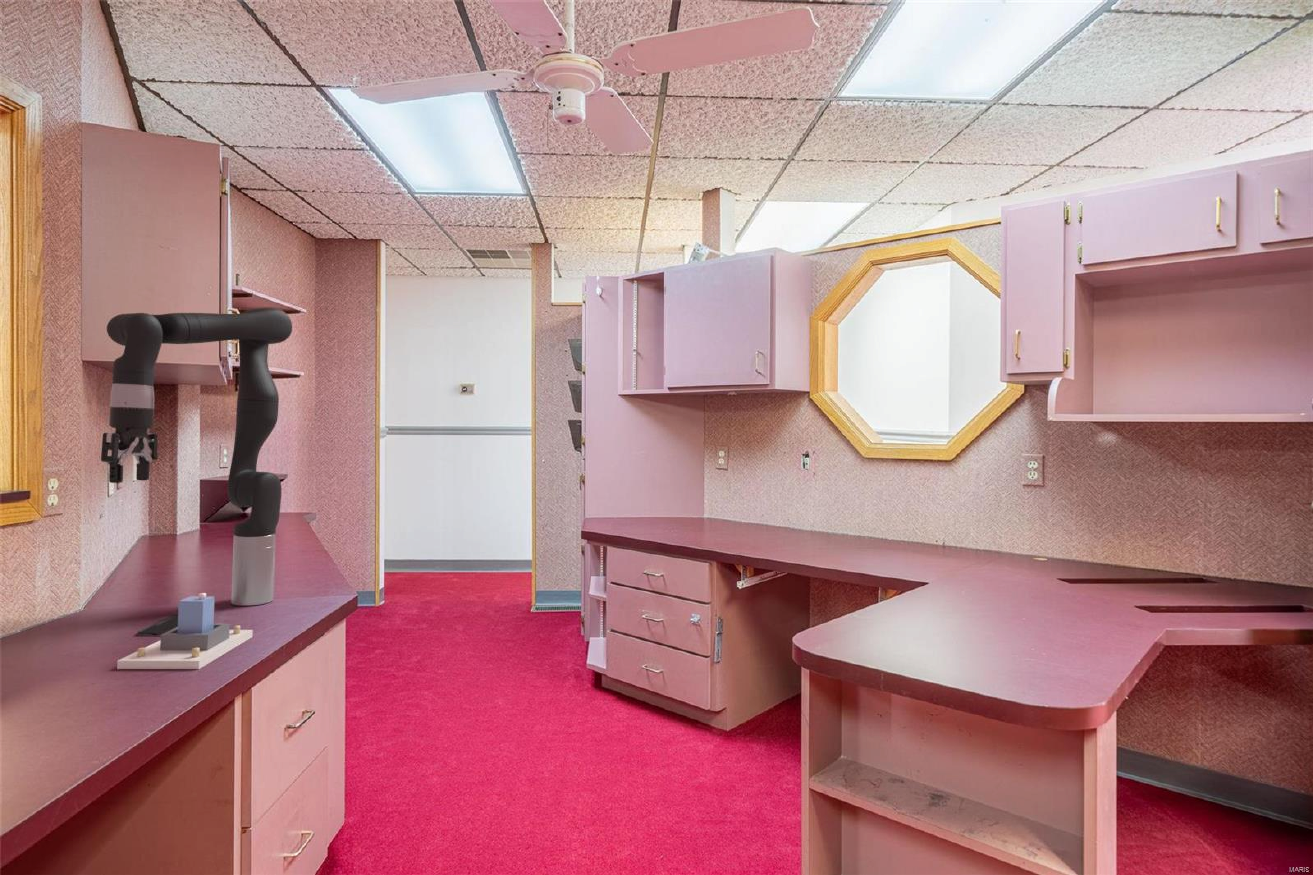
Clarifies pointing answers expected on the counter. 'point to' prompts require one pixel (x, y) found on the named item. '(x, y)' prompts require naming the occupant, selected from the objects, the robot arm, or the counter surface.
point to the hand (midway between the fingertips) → (129, 481)
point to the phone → (160, 626)
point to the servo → (196, 614)
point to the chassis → (186, 649)
